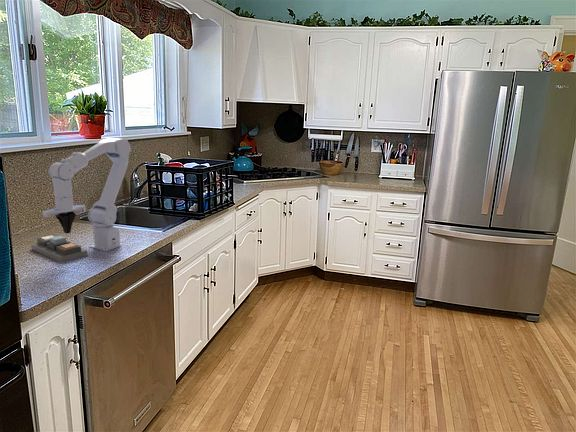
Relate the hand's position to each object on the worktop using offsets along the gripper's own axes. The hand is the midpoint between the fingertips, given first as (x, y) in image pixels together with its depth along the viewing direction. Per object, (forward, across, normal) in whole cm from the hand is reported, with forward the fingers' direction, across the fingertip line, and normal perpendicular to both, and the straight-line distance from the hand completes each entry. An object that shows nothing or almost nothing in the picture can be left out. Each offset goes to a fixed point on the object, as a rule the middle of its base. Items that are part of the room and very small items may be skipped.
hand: (67, 232), depth 153 cm
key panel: (+9, 0, -8) cm, 12 cm away
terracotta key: (+7, 0, 0) cm, 7 cm away
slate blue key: (+5, 0, -7) cm, 9 cm away
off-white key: (+7, 0, -15) cm, 17 cm away
